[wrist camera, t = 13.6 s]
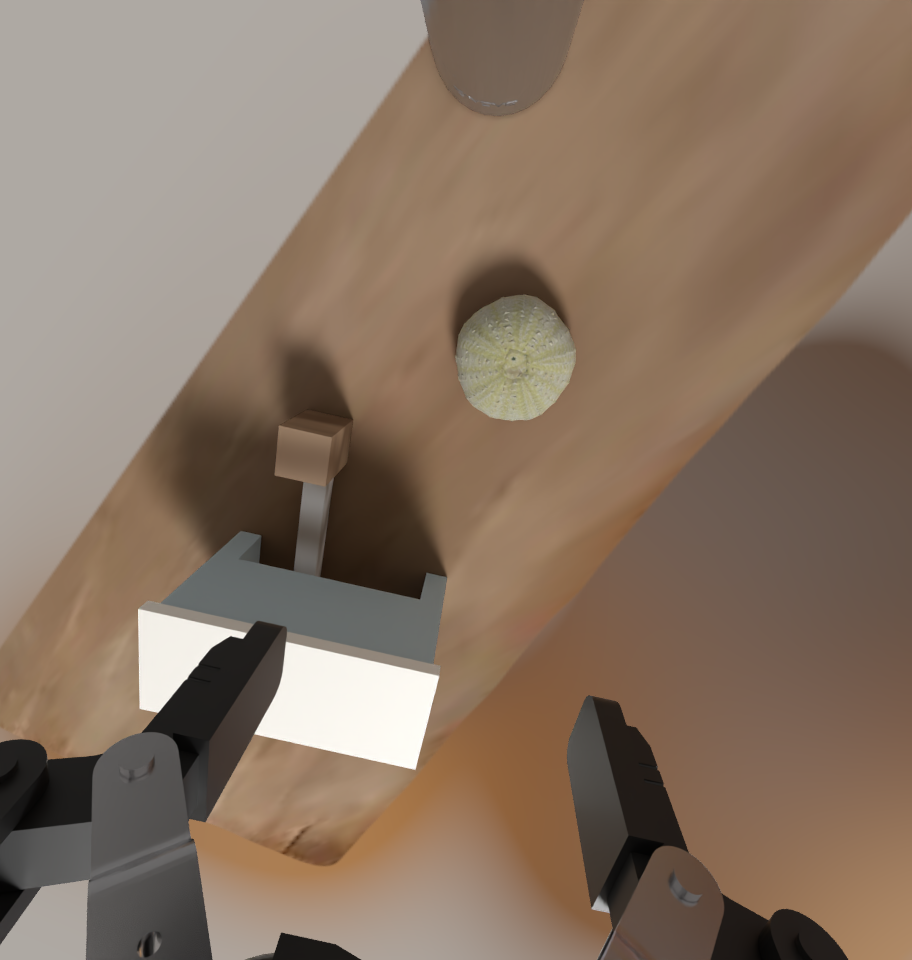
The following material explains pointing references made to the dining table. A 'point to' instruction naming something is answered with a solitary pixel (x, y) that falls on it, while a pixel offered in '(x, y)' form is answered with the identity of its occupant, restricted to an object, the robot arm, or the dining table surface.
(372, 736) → the bench
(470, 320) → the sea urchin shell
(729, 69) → the dining table surface
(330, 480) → the wooden cube mallet
